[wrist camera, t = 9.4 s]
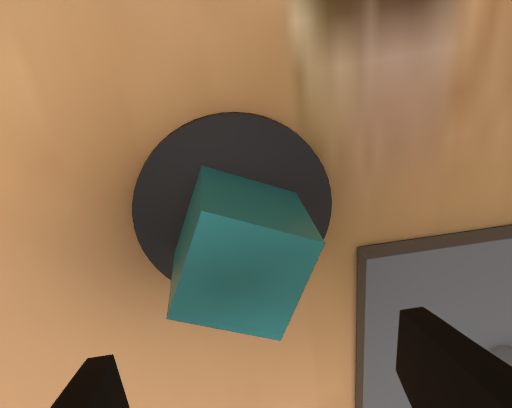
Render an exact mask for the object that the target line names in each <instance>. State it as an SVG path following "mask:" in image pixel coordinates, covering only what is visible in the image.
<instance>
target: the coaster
mask: <svg viewBox="0 0 512 408" xmlns="http://www.w3.org/2000/svg"><path fill="white" fill-rule="evenodd" d="M201 165H202V166H205V167H209V168H212V169H216V170H219V171H223V172H226V173H230V174H233V175H237V176H240V177H244V178H247V179H250V180H254V181H257V182H261V183H264V184H268V185H271V186H275V187H278V188H282V189H285V190H289V191H292V192H295V193H296V194H297V195H298V197H299V199H300V200H301V202H302V204H303V206H304V207H305V209H306V211H307V213H308V214H309V216H310V218H311V219H312V221H313V223H314V225H315V226H316V228H317V230H318V232H319V233H320V235H321V237H322V238H323V239H324V237H325V235H326V232H327V229H328V226H329V222H330V217H331V206H332V199H331V189H330V185H329V180H328V177H327V175H326V172H325V169H324V167H323V165H322V164H321V162H320V160H319V158H318V157H317V155H316V154H315V153H314V151H313V150H312V149H311V148H310V146H309V145H308V144H307V143H306V142H305V141H304V140H303V139H302V138H301V137H300V136H299V135H298V134H296V133H295V132H293V131H292V130H291V129H289V128H288V127H286V126H284V125H282V124H281V123H279V122H277V121H275V120H272V119H269V118H266V117H264V116H260V115H255V114H251V113H240V112H229V113H218V114H213V115H208V116H205V117H202V118H198V119H195V120H193V121H191V122H189V123H187V124H185V125H183V126H181V127H179V128H178V129H176V130H175V131H173V132H172V133H170V134H169V135H168V136H167V137H166V138H165V139H164V140H162V141H161V142H160V143H159V144H158V146H157V147H156V148H155V149H154V150H153V151H152V153H151V154H150V156H149V157H148V159H147V160H146V162H145V164H144V166H143V168H142V170H141V172H140V175H139V177H138V179H137V183H136V186H135V190H134V195H133V202H132V217H133V223H134V229H135V232H136V235H137V238H138V241H139V243H140V245H141V247H142V249H143V251H144V253H145V254H146V256H147V257H148V259H149V260H150V261H151V262H152V263H153V265H154V266H155V267H156V268H157V269H158V270H159V271H160V272H161V273H163V274H164V275H165V276H166V277H167V278H169V279H170V280H171V279H172V270H173V262H174V253H175V250H176V246H177V243H178V240H179V237H180V233H181V230H182V227H183V224H184V220H185V217H186V214H187V211H188V208H189V204H190V201H191V198H192V195H193V191H194V188H195V185H196V182H197V178H198V175H199V172H200V169H201Z"/></svg>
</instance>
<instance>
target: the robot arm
mask: <svg viewBox="0 0 512 408" xmlns="http://www.w3.org/2000/svg"><path fill="white" fill-rule="evenodd" d="M396 372H397V375H398V377H399V379H400V382H401V384H402V387H403V389H404V391H405V394H406V396H407V398H408V400H409V402H410V405H411V407H412V408H512V366H510V365H509V364H507V363H506V362H504V361H503V360H501V359H500V358H498V357H497V356H495V355H494V354H492V353H491V352H489V351H488V350H486V349H485V348H483V347H482V346H480V345H479V344H477V343H476V342H474V341H473V340H471V339H470V338H468V337H467V336H465V335H464V334H462V333H461V332H460V331H458V330H457V329H455V328H454V327H452V326H451V325H449V324H448V323H447V322H445V321H444V320H442V319H441V318H439V317H438V316H436V315H435V314H433V313H432V312H430V311H429V310H427V309H426V308H424V307H416V308H410V309H403V310H400V313H399V327H398V342H397V356H396ZM51 408H129V404H128V401H127V398H126V395H125V391H124V388H123V385H122V382H121V378H120V375H119V372H118V369H117V365H116V362H115V359H114V356H113V354H112V355H106V356H99V357H93V358H87V360H86V361H85V362H84V363H83V365H82V366H81V367H80V369H79V370H78V371H77V373H76V374H75V375H74V377H73V378H72V379H71V381H70V382H69V383H68V385H67V386H66V387H65V389H64V390H63V391H62V393H61V394H60V395H59V397H58V398H57V399H56V401H55V402H54V404H53V405H52V406H51Z"/></svg>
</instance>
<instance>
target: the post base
mask: <svg viewBox="0 0 512 408" xmlns="http://www.w3.org/2000/svg"><path fill="white" fill-rule="evenodd" d="M416 307H424V308H426V309H427V310H429V311H430V312H432V313H433V314H435V315H436V316H438V317H439V318H441V319H442V320H444V321H445V322H447V323H448V324H449V325H451V326H452V327H454V328H455V329H457V330H458V331H460V332H461V333H462V334H464V335H465V336H467V337H468V338H470V339H471V340H473V341H474V342H476V343H477V344H479V345H480V346H482V347H483V348H485V349H486V350H488V351H489V352H491V353H492V354H494V355H495V356H497V357H498V358H500V359H501V360H503V361H504V362H506V363H507V364H509V365H510V366H512V225H509V226H502V227H495V228H488V229H482V230H475V231H468V232H461V233H454V234H447V235H440V236H433V237H426V238H419V239H412V240H405V241H398V242H391V243H384V244H377V245H370V246H363V247H358V267H357V331H356V396H355V408H412V407H411V405H410V402H409V400H408V398H407V396H406V394H405V391H404V389H403V387H402V384H401V382H400V379H399V377H398V375H397V372H396V356H397V342H398V327H399V313H400V310H403V309H410V308H416Z"/></svg>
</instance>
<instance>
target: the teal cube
mask: <svg viewBox="0 0 512 408" xmlns="http://www.w3.org/2000/svg"><path fill="white" fill-rule="evenodd" d="M324 244H325V242H324V240H323V238H322V237H321V235H320V233H319V232H318V230H317V228H316V226H315V225H314V223H313V221H312V219H311V218H310V216H309V214H308V213H307V211H306V209H305V207H304V206H303V204H302V202H301V200H300V199H299V197H298V195H297V194H296V193H295V192H292V191H289V190H285V189H282V188H278V187H275V186H271V185H268V184H264V183H261V182H257V181H254V180H250V179H247V178H244V177H240V176H237V175H233V174H230V173H226V172H223V171H219V170H216V169H212V168H209V167H205V166H202V165H201V169H200V172H199V175H198V178H197V182H196V185H195V188H194V191H193V195H192V198H191V201H190V204H189V208H188V211H187V214H186V217H185V220H184V224H183V227H182V230H181V233H180V237H179V240H178V243H177V246H176V250H175V253H174V262H173V270H172V279H171V287H170V295H169V304H168V312H167V319H169V320H175V321H180V322H185V323H190V324H195V325H201V326H206V327H211V328H216V329H222V330H227V331H232V332H237V333H243V334H248V335H253V336H258V337H263V338H269V339H274V340H279V341H281V339H282V337H283V334H284V332H285V330H286V328H287V326H288V323H289V321H290V319H291V317H292V315H293V312H294V310H295V308H296V306H297V304H298V301H299V299H300V297H301V295H302V293H303V290H304V288H305V286H306V284H307V282H308V279H309V277H310V275H311V273H312V271H313V268H314V266H315V264H316V262H317V260H318V257H319V255H320V253H321V251H322V249H323V246H324Z"/></svg>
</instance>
